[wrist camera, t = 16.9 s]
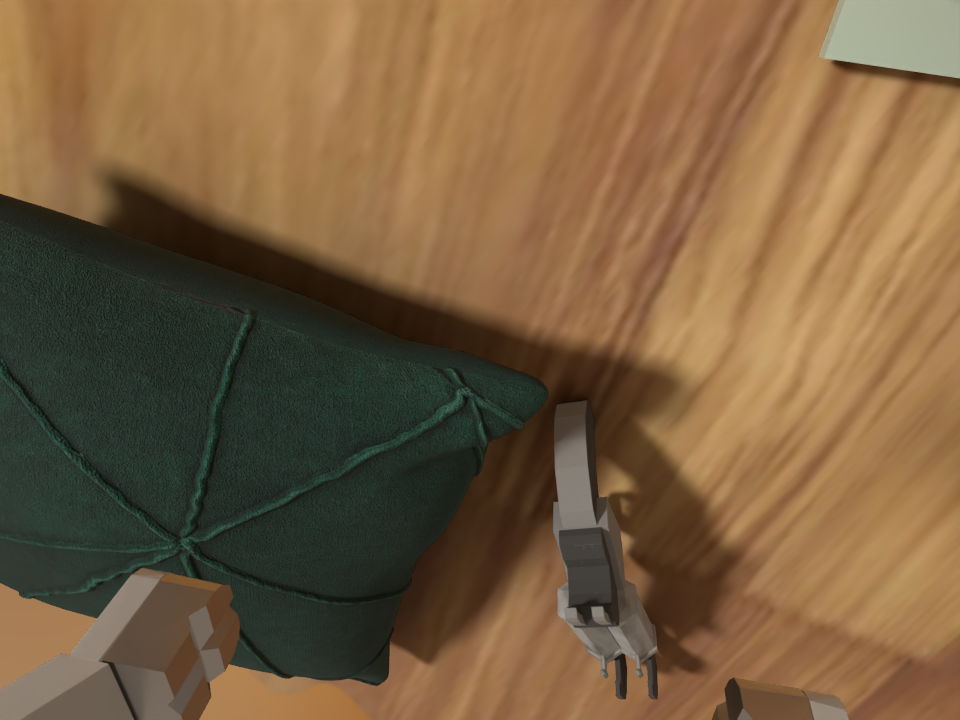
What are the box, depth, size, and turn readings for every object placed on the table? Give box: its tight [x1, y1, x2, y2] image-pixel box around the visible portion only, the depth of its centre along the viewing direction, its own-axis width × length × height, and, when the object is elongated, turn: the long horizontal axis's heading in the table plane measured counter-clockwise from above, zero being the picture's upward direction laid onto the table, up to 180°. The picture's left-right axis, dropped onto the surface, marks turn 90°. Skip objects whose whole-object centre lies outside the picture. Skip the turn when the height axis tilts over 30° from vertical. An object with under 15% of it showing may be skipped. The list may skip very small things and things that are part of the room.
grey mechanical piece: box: [553, 400, 658, 699], centre depth 52 cm, size 6×28×16 cm, turn 17°
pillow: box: [0, 194, 548, 686], centre depth 48 cm, size 44×18×44 cm
